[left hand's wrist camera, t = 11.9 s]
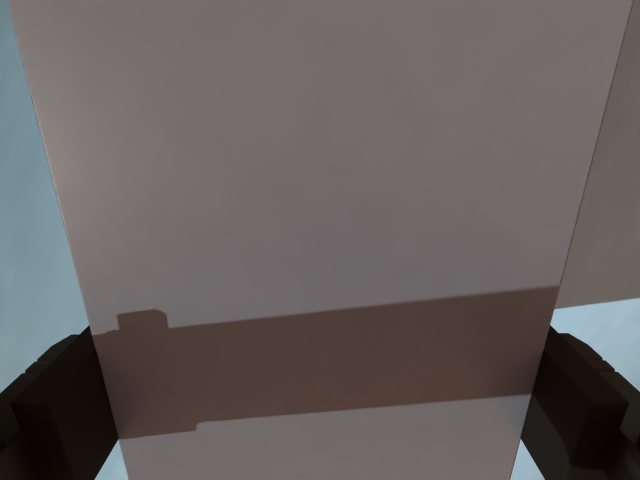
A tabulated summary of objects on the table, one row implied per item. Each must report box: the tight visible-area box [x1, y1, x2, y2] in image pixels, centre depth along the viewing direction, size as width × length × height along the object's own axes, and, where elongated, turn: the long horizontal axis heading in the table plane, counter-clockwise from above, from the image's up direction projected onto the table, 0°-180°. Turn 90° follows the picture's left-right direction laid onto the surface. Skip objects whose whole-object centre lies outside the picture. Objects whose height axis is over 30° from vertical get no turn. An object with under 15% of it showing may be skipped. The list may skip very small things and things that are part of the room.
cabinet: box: [7, 0, 634, 480], centre depth 12 cm, size 16×10×10 cm, turn 0°
